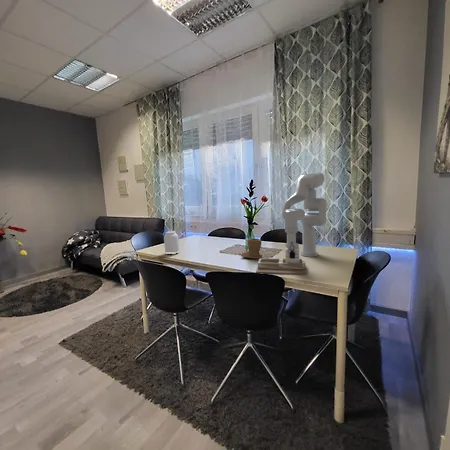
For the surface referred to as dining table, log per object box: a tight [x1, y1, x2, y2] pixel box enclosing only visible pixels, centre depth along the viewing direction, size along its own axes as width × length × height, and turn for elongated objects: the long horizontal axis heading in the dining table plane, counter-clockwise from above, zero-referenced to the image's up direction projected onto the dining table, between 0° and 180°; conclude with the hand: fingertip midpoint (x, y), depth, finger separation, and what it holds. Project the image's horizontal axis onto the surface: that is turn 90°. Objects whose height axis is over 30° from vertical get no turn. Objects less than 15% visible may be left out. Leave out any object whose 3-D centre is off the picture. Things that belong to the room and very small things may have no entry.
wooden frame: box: [255, 258, 307, 276], centre depth 155 cm, size 24×30×4 cm
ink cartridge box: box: [285, 242, 300, 263], centre depth 153 cm, size 9×5×15 cm, turn 75°
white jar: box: [163, 230, 180, 253], centre depth 212 cm, size 12×12×20 cm
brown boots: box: [240, 237, 263, 259], centre depth 182 cm, size 15×12×15 cm
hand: (292, 256), depth 153 cm, fingers open, 9 cm apart
